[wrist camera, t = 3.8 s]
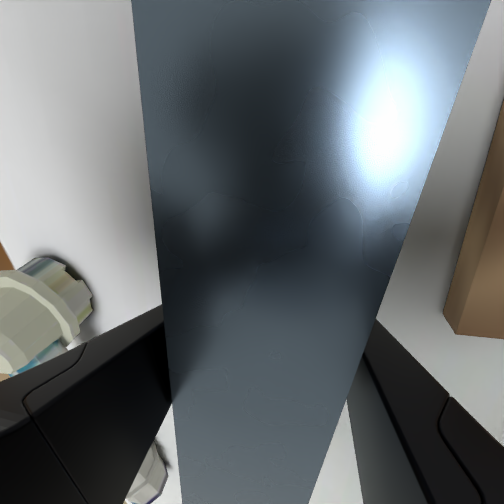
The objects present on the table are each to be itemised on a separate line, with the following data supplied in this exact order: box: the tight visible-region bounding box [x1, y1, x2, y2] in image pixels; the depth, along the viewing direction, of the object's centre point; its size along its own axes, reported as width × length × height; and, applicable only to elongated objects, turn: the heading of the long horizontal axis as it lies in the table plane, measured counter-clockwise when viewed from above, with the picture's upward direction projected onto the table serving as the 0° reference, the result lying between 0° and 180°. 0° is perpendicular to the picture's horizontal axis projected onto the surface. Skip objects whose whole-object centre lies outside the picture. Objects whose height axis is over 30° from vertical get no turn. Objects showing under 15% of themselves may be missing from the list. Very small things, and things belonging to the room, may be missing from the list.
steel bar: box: [131, 0, 491, 504], centre depth 8 cm, size 20×4×4 cm, turn 176°
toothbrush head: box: [0, 257, 168, 504], centre depth 21 cm, size 5×7×25 cm
